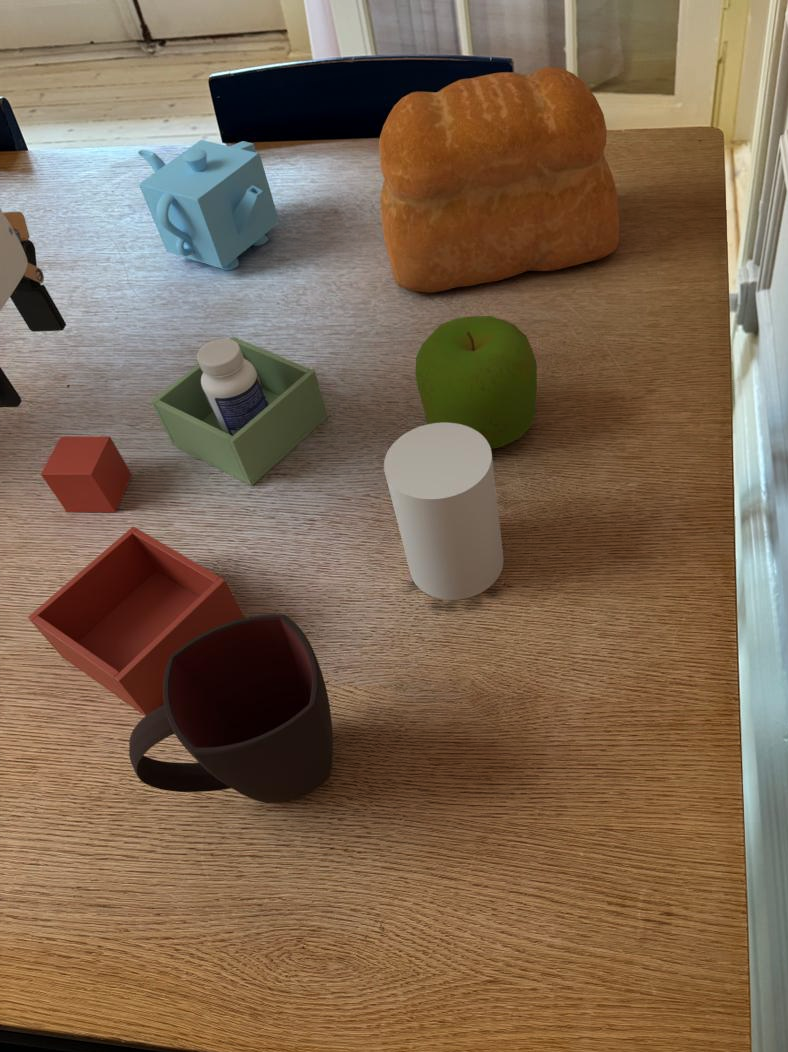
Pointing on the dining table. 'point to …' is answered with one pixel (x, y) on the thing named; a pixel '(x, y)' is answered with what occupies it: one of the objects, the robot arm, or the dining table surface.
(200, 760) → the mug
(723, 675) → the dining table surface
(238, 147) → the teapot
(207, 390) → the pill bottle
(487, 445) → the white solid cylinder
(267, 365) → the sage bin
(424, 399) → the apple
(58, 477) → the red block
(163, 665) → the brick bin
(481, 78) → the bread
